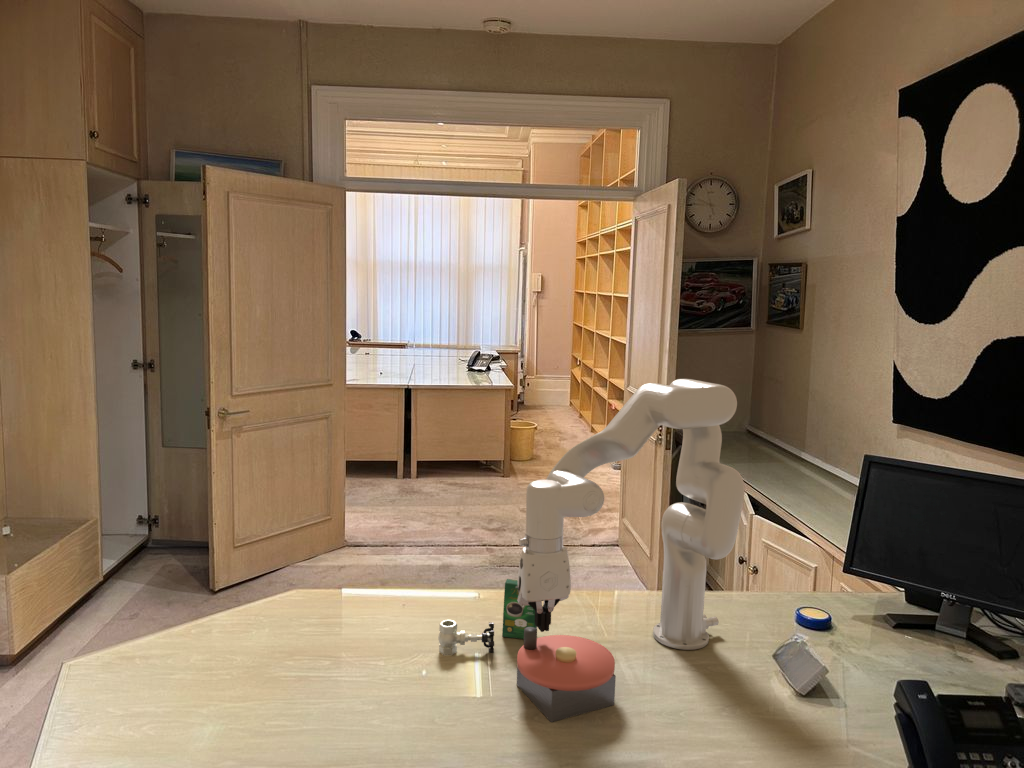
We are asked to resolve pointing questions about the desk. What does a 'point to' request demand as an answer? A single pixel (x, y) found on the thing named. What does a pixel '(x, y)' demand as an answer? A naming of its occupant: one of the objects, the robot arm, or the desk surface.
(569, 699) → the block
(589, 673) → the handwheel
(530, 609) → the coffee box
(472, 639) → the valve
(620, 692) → the desk surface
